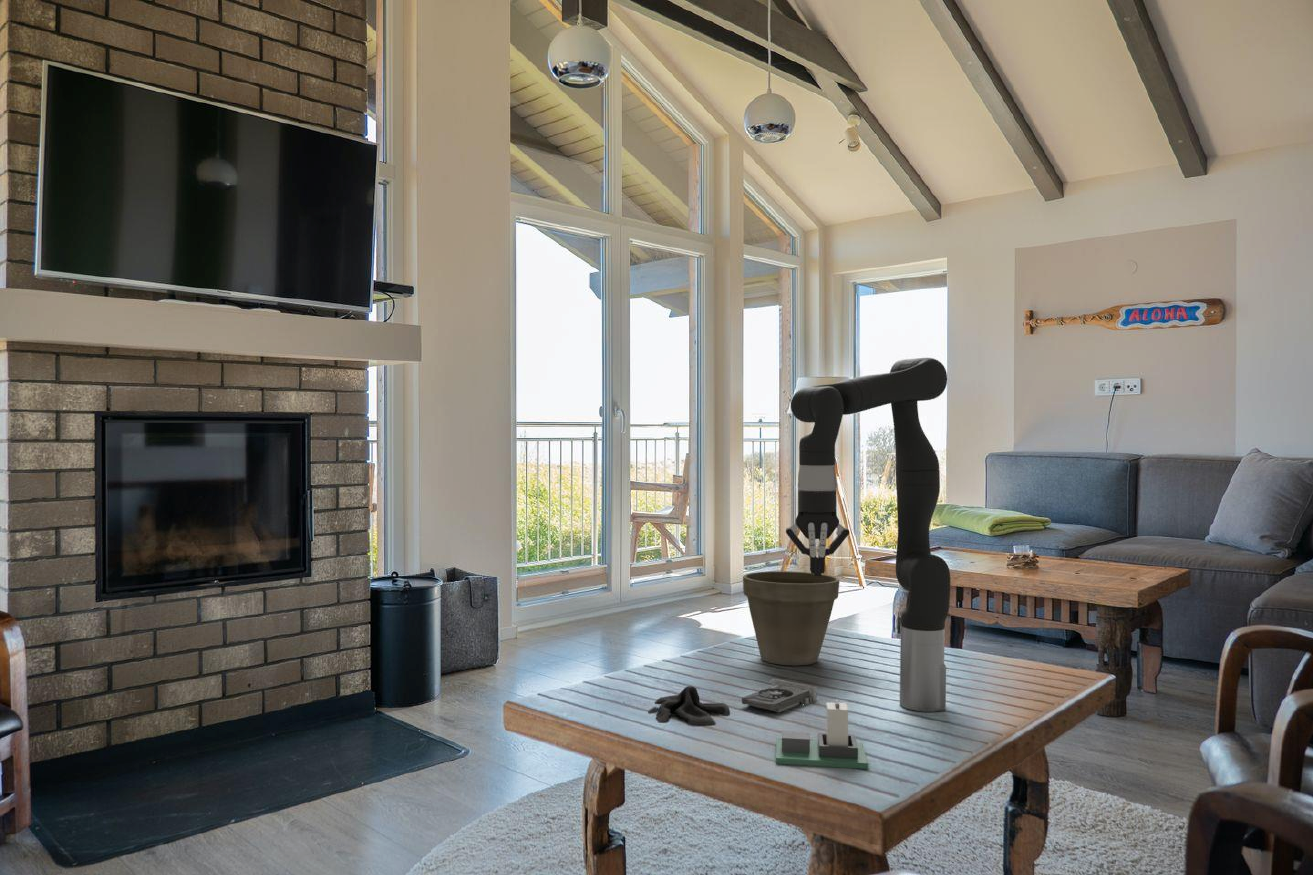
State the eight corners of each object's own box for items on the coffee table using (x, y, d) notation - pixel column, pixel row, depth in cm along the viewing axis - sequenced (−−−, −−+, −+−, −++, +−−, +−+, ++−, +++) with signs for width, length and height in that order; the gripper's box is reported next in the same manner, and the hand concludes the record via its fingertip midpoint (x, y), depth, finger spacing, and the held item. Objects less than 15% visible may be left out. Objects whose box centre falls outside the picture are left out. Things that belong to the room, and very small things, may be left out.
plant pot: (784, 644, 265) (784, 566, 265) (857, 660, 247) (858, 577, 247) (722, 658, 248) (723, 574, 248) (796, 676, 230) (797, 587, 230)
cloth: (667, 697, 213) (667, 669, 213) (744, 708, 205) (745, 680, 205) (619, 723, 193) (619, 693, 193) (702, 737, 185) (703, 706, 185)
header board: (862, 748, 178) (862, 729, 178) (867, 768, 167) (868, 748, 167) (776, 743, 180) (776, 725, 180) (775, 763, 169) (776, 743, 169)
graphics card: (772, 676, 218) (818, 685, 210) (772, 693, 218) (818, 702, 210) (728, 692, 205) (775, 701, 197) (729, 709, 205) (775, 720, 197)
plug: (846, 746, 175) (846, 698, 175) (847, 754, 171) (847, 705, 171) (826, 745, 176) (826, 698, 176) (827, 753, 171) (827, 704, 171)
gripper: (849, 487, 191) (849, 573, 191) (782, 486, 192) (783, 572, 192) (853, 489, 183) (853, 579, 183) (783, 489, 185) (783, 578, 185)
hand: (817, 575), depth 188 cm, fingers closed
